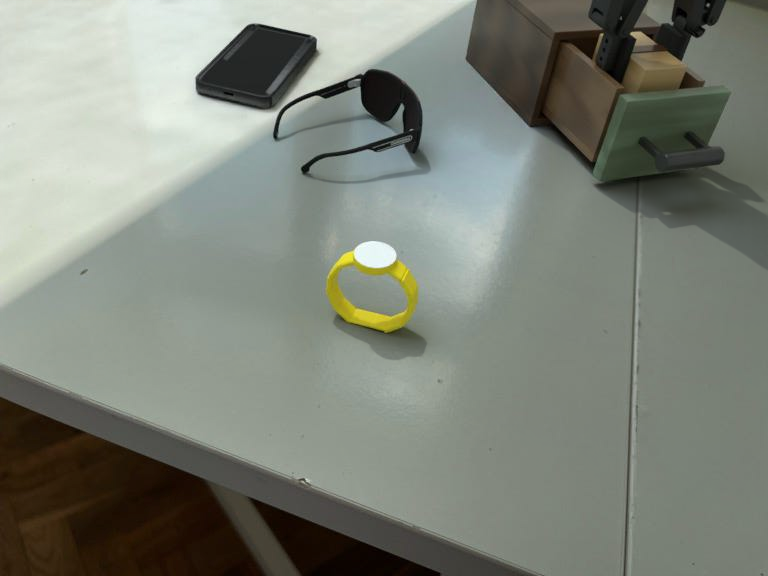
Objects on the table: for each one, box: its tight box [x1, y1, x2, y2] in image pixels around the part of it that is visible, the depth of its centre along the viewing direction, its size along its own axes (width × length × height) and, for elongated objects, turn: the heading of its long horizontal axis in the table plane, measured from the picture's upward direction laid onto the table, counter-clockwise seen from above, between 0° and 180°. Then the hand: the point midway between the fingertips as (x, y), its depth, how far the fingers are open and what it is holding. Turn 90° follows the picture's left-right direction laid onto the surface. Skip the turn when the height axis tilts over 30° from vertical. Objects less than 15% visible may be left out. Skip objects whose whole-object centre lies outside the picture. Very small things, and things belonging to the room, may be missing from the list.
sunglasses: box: [272, 68, 424, 174], centre depth 69 cm, size 10×12×5 cm
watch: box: [325, 240, 419, 334], centre depth 51 cm, size 6×3×6 cm, turn 72°
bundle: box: [592, 32, 688, 94], centre depth 70 cm, size 7×5×5 cm
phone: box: [194, 23, 318, 109], centre depth 78 cm, size 8×1×15 cm
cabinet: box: [465, 0, 661, 127], centre depth 80 cm, size 15×12×10 cm
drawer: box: [541, 38, 732, 182], centre depth 71 cm, size 18×11×8 cm, turn 21°
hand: (625, 98), depth 72 cm, fingers closed on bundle, 5 cm apart
